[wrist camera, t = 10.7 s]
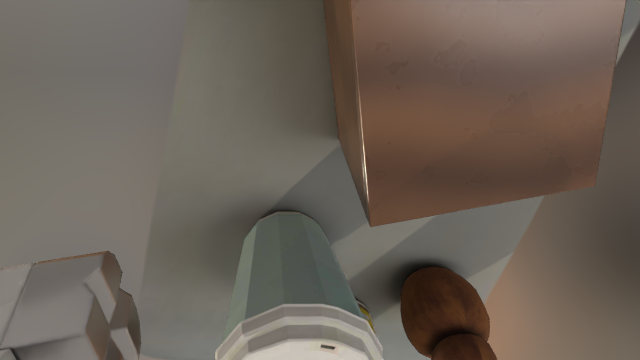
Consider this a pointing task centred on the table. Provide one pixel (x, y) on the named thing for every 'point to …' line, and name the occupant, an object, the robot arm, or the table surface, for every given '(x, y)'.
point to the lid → (479, 100)
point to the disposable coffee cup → (293, 298)
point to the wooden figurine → (445, 316)
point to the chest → (345, 88)
